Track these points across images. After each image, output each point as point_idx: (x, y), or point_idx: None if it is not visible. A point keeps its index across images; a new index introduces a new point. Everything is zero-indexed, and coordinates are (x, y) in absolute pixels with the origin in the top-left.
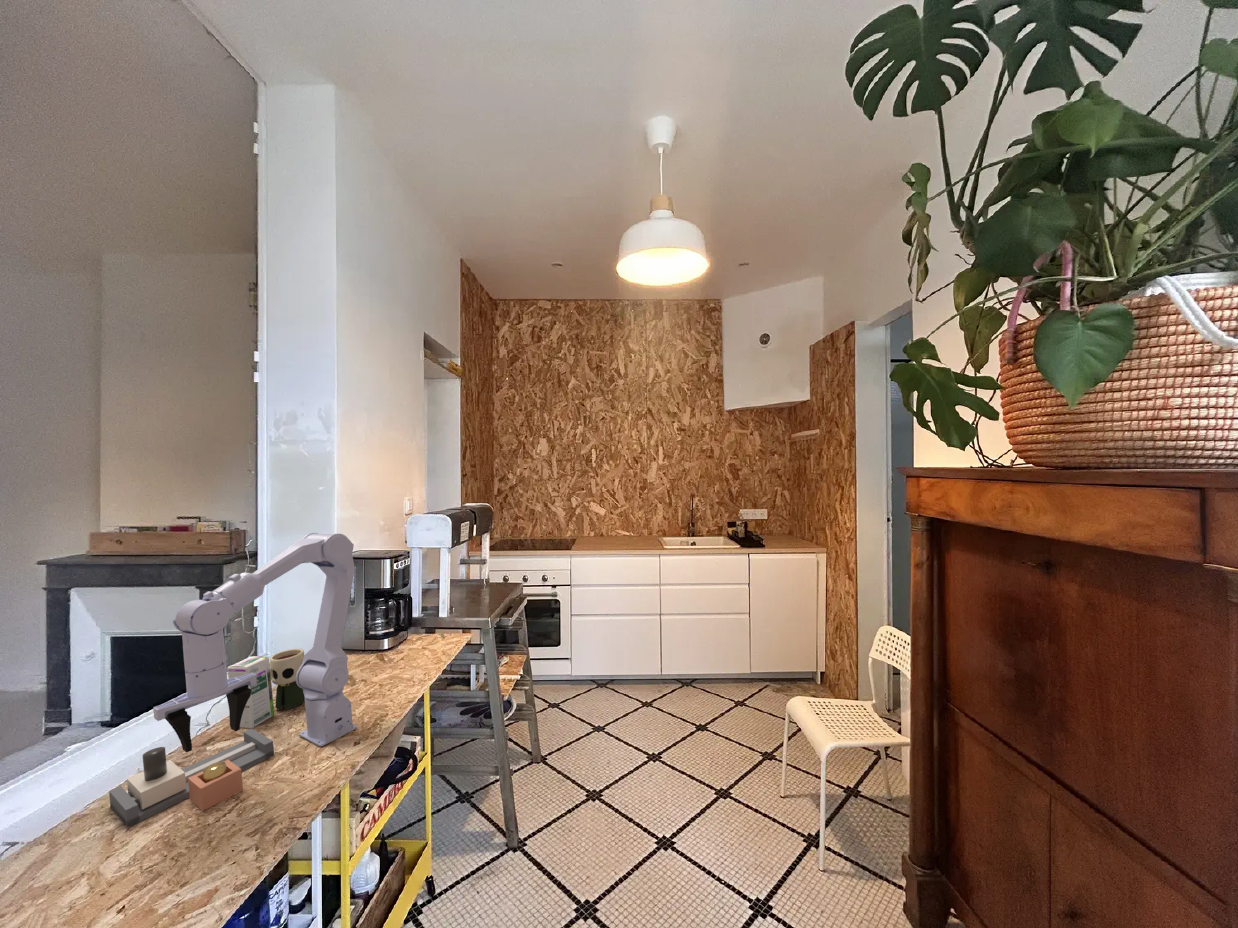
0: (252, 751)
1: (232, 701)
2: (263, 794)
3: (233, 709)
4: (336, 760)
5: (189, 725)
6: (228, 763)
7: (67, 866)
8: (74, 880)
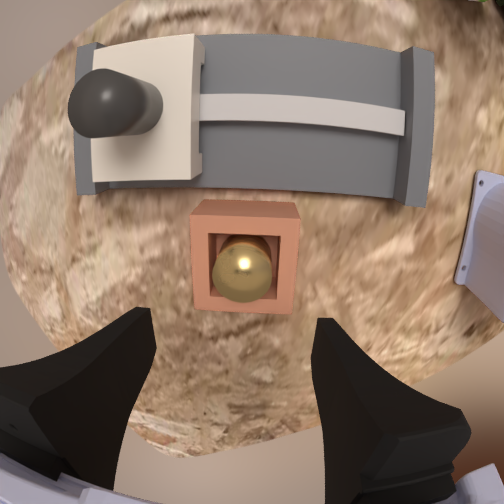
0: (386, 139)
1: (339, 460)
2: (299, 339)
3: (332, 422)
4: (420, 353)
5: (117, 449)
6: (289, 249)
7: (35, 222)
8: (45, 274)
